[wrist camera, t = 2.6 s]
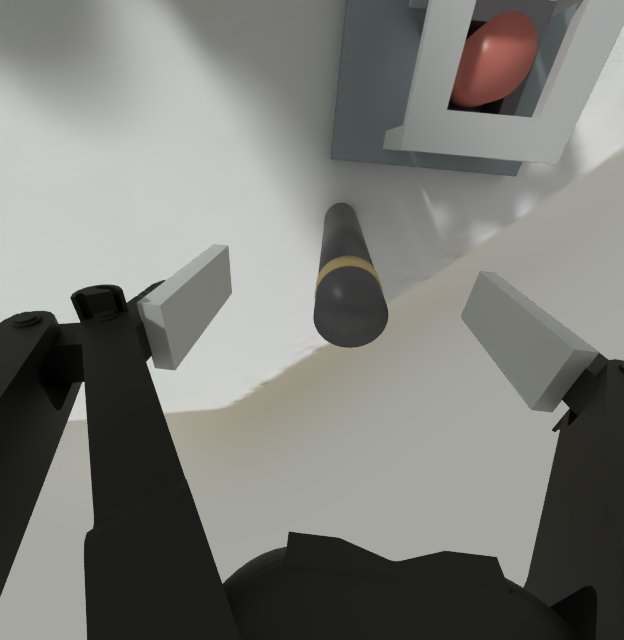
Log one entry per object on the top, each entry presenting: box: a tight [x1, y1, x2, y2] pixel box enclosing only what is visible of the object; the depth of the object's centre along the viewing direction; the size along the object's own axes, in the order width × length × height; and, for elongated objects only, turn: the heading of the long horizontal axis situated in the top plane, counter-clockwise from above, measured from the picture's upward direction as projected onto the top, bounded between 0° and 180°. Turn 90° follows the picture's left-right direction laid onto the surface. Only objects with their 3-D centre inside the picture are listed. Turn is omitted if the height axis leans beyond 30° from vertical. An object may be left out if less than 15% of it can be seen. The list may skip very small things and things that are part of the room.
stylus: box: [314, 203, 388, 348], centre depth 19 cm, size 3×3×18 cm
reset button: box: [449, 11, 537, 108], centre depth 16 cm, size 4×4×3 cm
